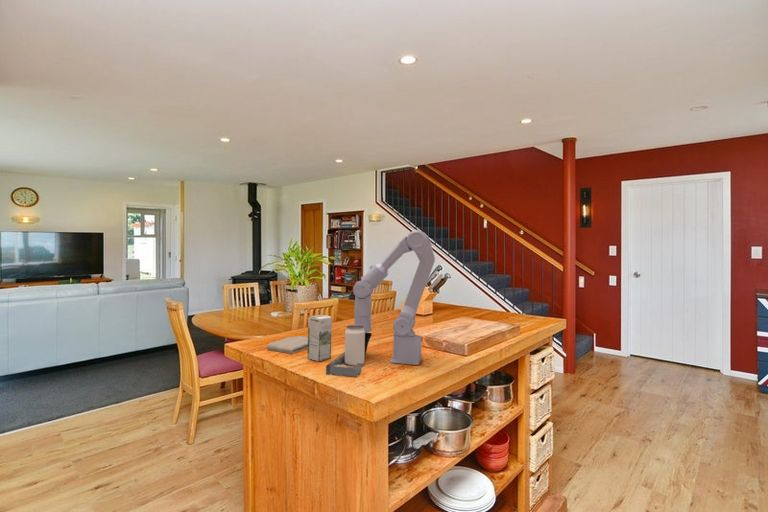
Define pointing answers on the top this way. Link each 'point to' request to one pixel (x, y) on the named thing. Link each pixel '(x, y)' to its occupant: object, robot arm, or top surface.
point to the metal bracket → (343, 367)
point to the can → (354, 345)
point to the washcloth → (289, 344)
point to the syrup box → (319, 337)
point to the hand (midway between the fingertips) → (362, 354)
